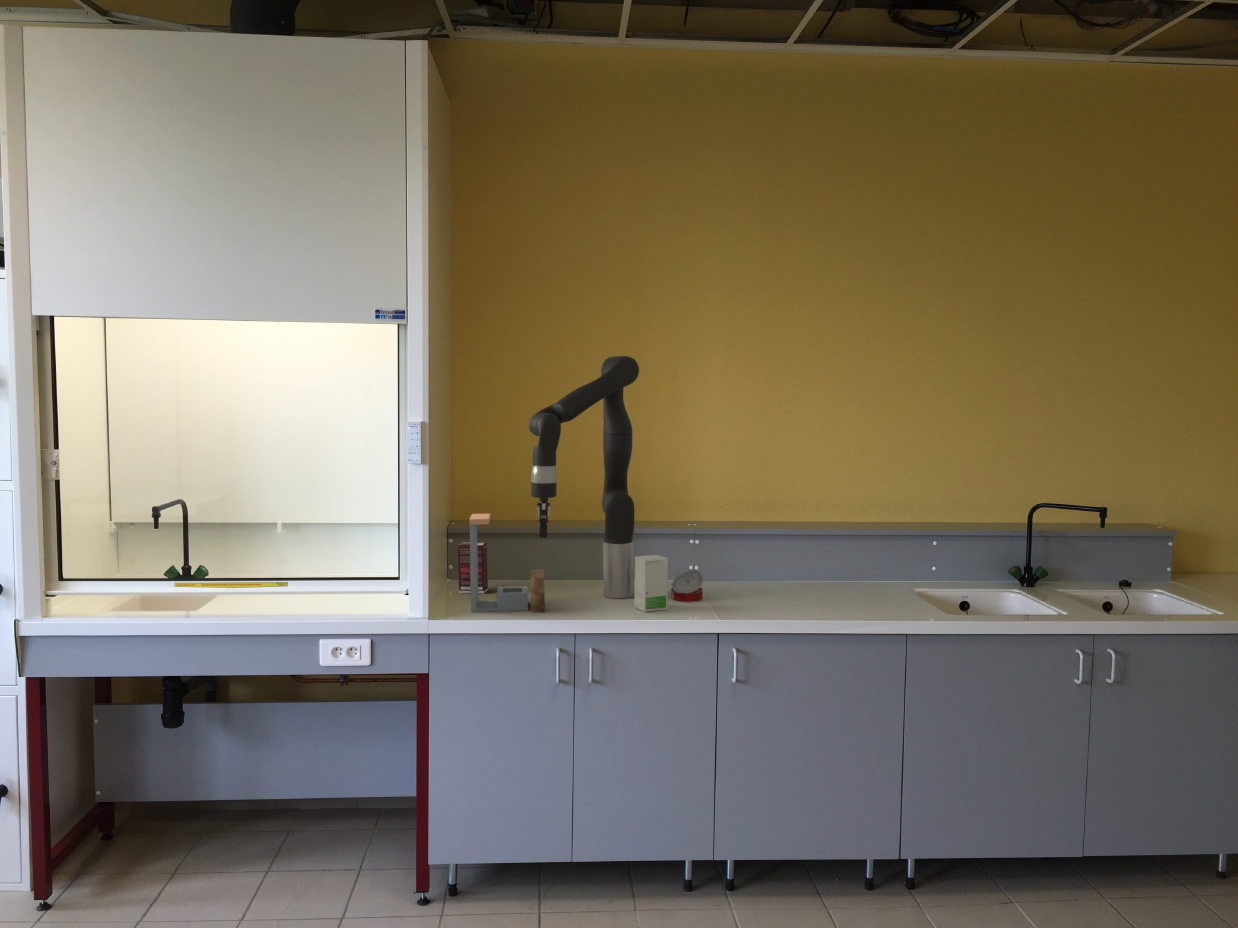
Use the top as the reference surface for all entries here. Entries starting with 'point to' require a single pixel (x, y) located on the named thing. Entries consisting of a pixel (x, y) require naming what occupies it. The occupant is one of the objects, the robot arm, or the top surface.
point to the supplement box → (465, 567)
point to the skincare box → (651, 583)
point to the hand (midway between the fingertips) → (543, 535)
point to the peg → (537, 591)
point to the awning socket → (505, 595)
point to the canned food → (687, 587)
